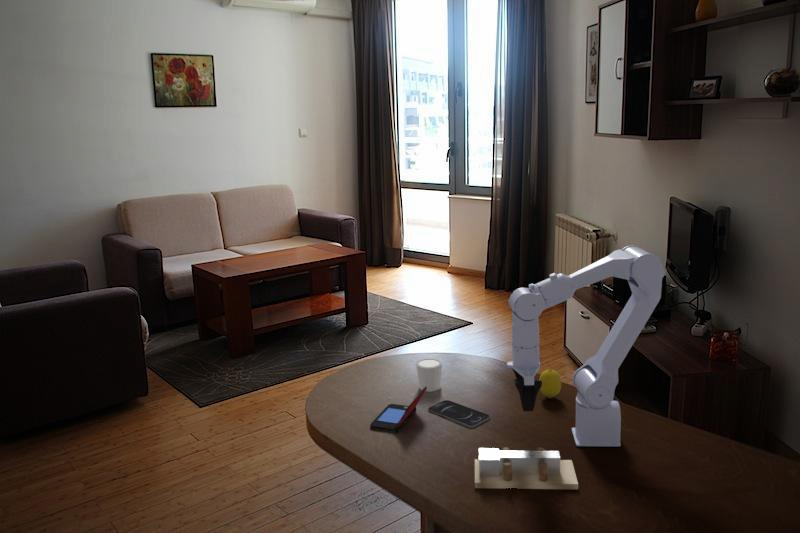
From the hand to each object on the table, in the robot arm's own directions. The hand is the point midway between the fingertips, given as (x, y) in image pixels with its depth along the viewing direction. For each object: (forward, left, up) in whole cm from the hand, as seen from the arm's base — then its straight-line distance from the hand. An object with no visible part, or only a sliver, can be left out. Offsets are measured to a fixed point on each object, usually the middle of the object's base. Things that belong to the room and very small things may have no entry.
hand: (526, 402), depth 148 cm
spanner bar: (+3, +14, -9) cm, 16 cm away
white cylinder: (+23, -30, -10) cm, 40 cm away
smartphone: (+15, -14, -10) cm, 24 cm away
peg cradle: (+1, +14, -10) cm, 17 cm away
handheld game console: (+30, -11, -10) cm, 33 cm away
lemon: (-8, -23, -10) cm, 27 cm away
